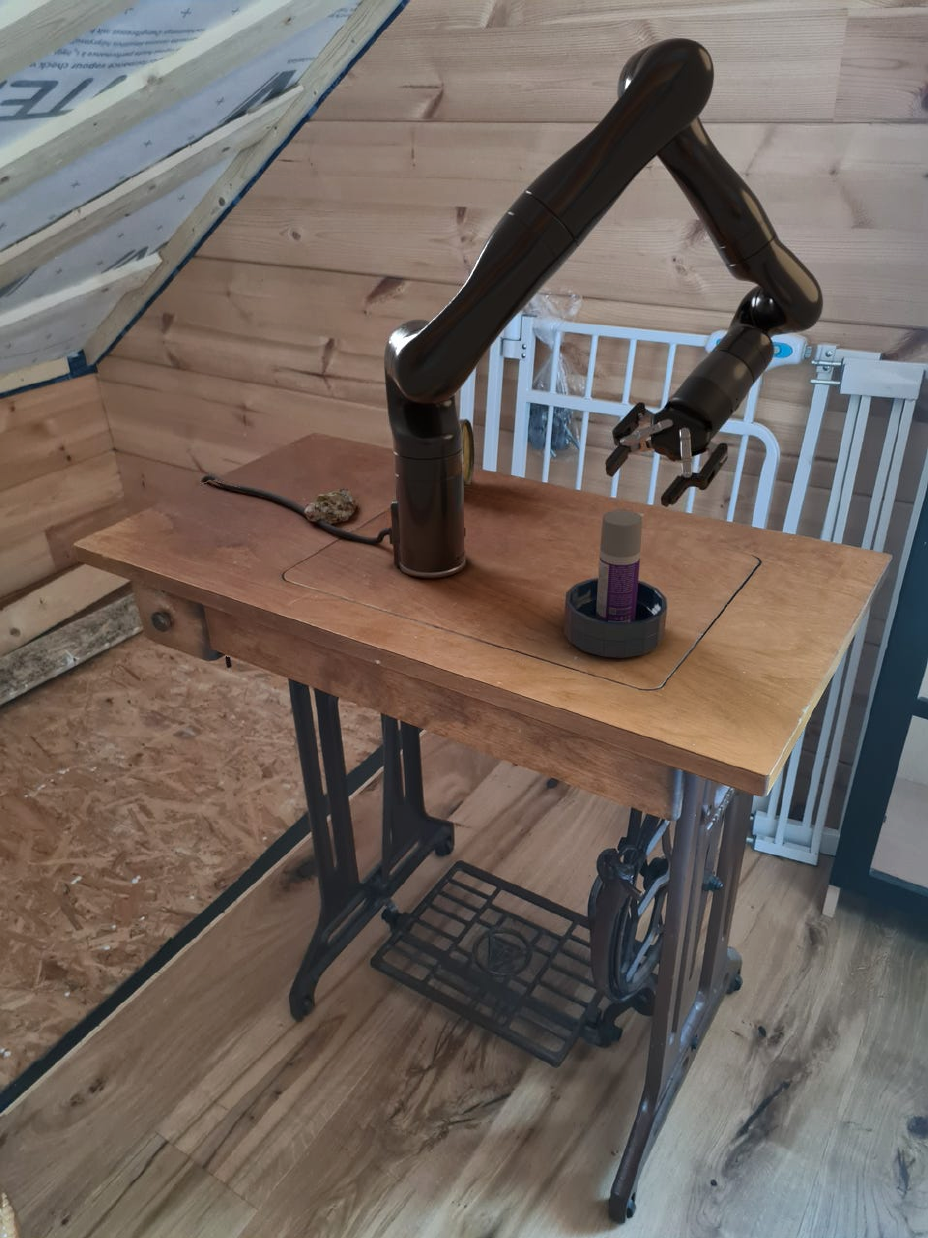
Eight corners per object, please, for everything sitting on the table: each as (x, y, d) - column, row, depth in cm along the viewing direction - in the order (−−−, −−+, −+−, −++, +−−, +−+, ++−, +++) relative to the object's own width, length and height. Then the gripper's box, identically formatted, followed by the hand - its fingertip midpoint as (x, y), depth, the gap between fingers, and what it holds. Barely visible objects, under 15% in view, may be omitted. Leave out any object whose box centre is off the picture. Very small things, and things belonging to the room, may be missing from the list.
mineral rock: (338, 516, 140) (294, 495, 142) (333, 540, 142) (290, 519, 144) (373, 494, 149) (331, 474, 150) (368, 517, 151) (327, 497, 153)
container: (639, 627, 113) (649, 514, 105) (624, 644, 109) (633, 529, 102) (605, 617, 115) (612, 506, 108) (588, 634, 112) (594, 520, 104)
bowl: (547, 645, 111) (548, 609, 108) (588, 603, 120) (590, 569, 117) (641, 671, 105) (645, 634, 103) (677, 625, 114) (680, 590, 112)
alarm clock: (463, 502, 150) (461, 405, 142) (431, 500, 151) (427, 403, 143) (476, 478, 159) (475, 385, 151) (446, 476, 160) (443, 384, 152)
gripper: (662, 355, 119) (586, 446, 116) (759, 399, 112) (681, 497, 110) (665, 391, 125) (594, 478, 122) (757, 435, 119) (684, 528, 116)
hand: (635, 487), depth 116 cm, fingers open, 8 cm apart
